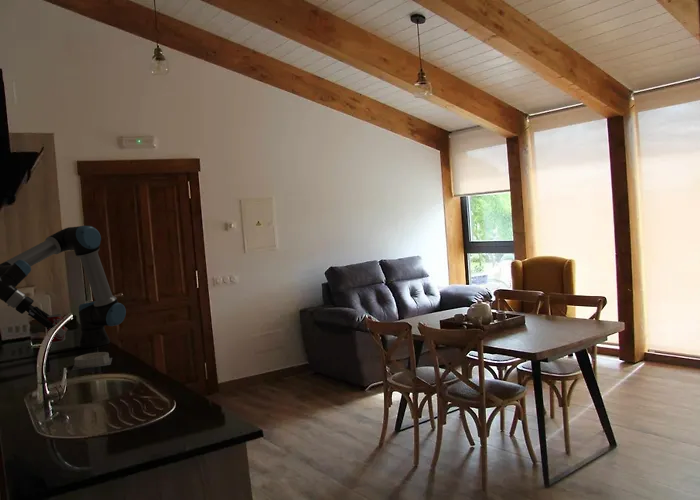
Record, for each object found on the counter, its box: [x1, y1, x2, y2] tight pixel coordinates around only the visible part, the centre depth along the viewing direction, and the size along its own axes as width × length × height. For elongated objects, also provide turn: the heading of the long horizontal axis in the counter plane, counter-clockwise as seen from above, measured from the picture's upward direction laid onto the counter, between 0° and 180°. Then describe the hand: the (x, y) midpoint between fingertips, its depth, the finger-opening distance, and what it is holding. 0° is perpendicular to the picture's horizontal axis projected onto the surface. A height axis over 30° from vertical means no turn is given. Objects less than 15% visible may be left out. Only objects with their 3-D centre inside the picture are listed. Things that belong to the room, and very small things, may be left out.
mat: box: [71, 357, 113, 371], centre depth 277 cm, size 16×16×1 cm
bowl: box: [74, 351, 110, 369], centre depth 276 cm, size 14×14×4 cm
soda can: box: [46, 313, 66, 344], centre depth 276 cm, size 7×7×12 cm
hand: (65, 332), depth 277 cm, fingers closed on soda can, 7 cm apart
